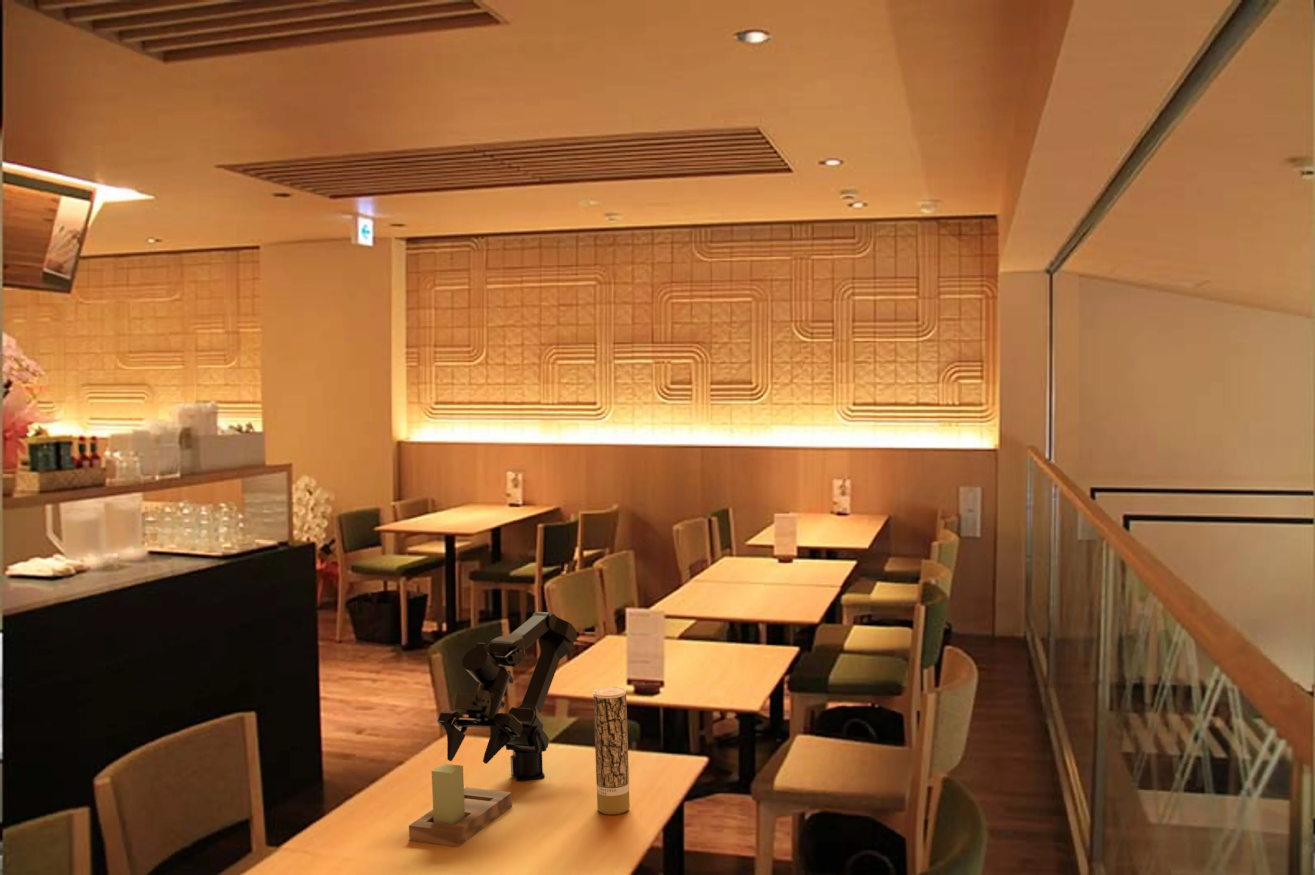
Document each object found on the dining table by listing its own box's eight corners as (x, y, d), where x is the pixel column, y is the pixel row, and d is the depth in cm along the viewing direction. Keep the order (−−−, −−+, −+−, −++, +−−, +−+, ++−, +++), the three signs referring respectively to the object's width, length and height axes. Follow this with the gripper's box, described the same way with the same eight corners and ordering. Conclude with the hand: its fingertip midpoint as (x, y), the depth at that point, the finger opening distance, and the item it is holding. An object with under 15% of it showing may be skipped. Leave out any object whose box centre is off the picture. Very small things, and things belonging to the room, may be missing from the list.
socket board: (466, 801, 240) (466, 787, 240) (512, 806, 237) (511, 792, 236) (409, 840, 220) (408, 825, 220) (457, 847, 216) (457, 831, 216)
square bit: (446, 826, 226) (443, 763, 226) (465, 829, 225) (462, 765, 224) (434, 835, 222) (431, 771, 222) (453, 837, 221) (451, 773, 220)
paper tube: (625, 816, 229) (621, 696, 228) (593, 815, 230) (589, 695, 229) (633, 804, 235) (629, 687, 234) (601, 803, 237) (598, 686, 236)
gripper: (436, 674, 240) (410, 743, 231) (507, 676, 231) (483, 747, 222) (463, 698, 247) (439, 765, 238) (533, 700, 238) (510, 770, 229)
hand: (466, 761), depth 232 cm, fingers open, 9 cm apart
